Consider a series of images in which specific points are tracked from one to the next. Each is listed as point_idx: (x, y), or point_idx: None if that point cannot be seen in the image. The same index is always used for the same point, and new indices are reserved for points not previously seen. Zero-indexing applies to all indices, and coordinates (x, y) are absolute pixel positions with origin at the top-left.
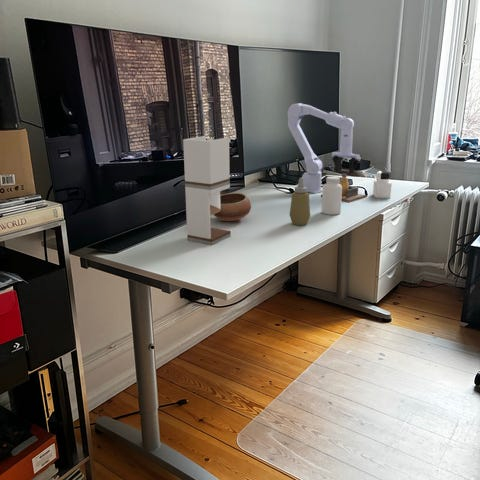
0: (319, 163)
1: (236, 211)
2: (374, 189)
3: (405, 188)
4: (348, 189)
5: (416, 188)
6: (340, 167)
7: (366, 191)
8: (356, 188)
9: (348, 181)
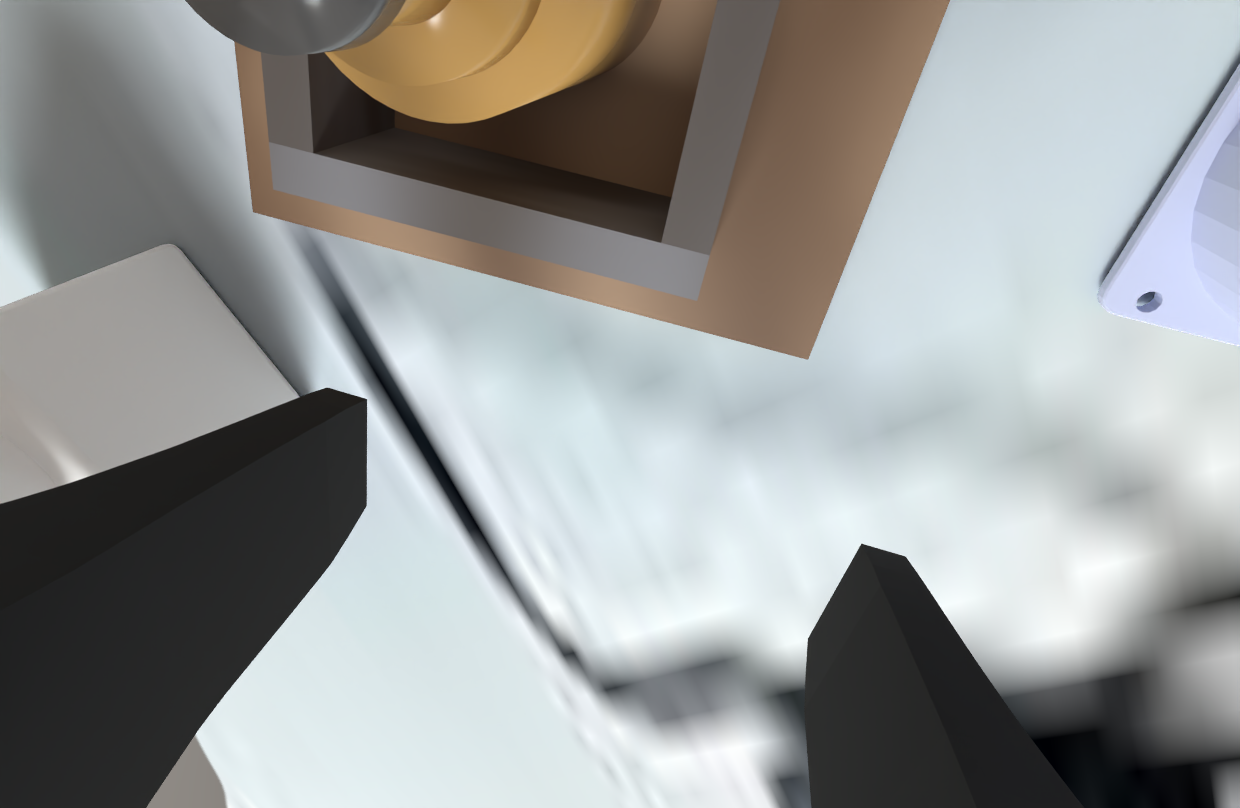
0: None
1: None
2: (168, 367)
3: (266, 744)
4: (505, 179)
5: (209, 760)
6: (811, 778)
7: (469, 537)
8: (272, 116)
9: (333, 57)
